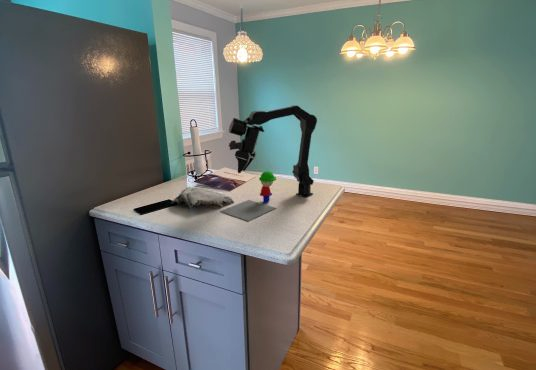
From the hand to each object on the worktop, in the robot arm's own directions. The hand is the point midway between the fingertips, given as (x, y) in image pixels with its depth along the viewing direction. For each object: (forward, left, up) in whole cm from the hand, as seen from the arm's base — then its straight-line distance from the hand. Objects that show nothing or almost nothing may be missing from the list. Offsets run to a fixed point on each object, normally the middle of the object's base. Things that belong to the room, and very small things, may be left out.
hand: (241, 171), depth 138 cm
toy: (-8, +9, -15) cm, 19 cm away
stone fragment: (+12, -16, -16) cm, 25 cm away
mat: (+5, +9, -15) cm, 18 cm away
